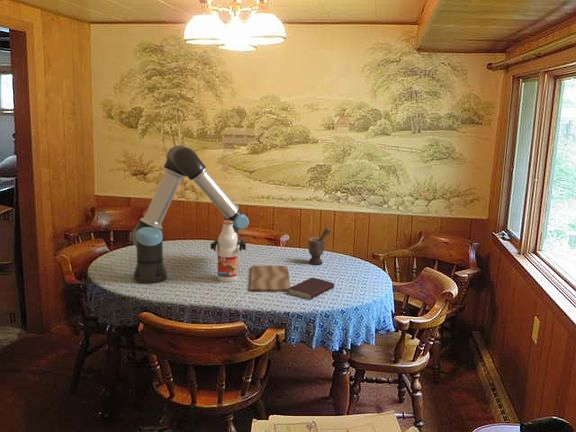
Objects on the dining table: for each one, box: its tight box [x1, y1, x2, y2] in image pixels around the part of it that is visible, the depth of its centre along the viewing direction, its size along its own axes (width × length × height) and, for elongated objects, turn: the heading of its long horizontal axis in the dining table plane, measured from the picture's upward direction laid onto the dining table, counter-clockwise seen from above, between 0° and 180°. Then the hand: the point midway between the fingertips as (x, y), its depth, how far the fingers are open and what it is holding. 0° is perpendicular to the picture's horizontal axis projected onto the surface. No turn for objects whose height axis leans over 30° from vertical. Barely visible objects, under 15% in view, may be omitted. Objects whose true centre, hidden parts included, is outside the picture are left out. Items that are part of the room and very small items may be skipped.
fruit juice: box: [217, 220, 239, 283], centre depth 249 cm, size 9×9×28 cm
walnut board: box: [249, 265, 292, 293], centre depth 253 cm, size 18×36×1 cm, turn 3°
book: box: [288, 277, 335, 300], centre depth 238 cm, size 12×19×3 cm, turn 145°
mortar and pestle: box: [307, 227, 332, 266], centre depth 279 cm, size 12×9×20 cm
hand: (227, 250), depth 244 cm, fingers closed on fruit juice, 9 cm apart
